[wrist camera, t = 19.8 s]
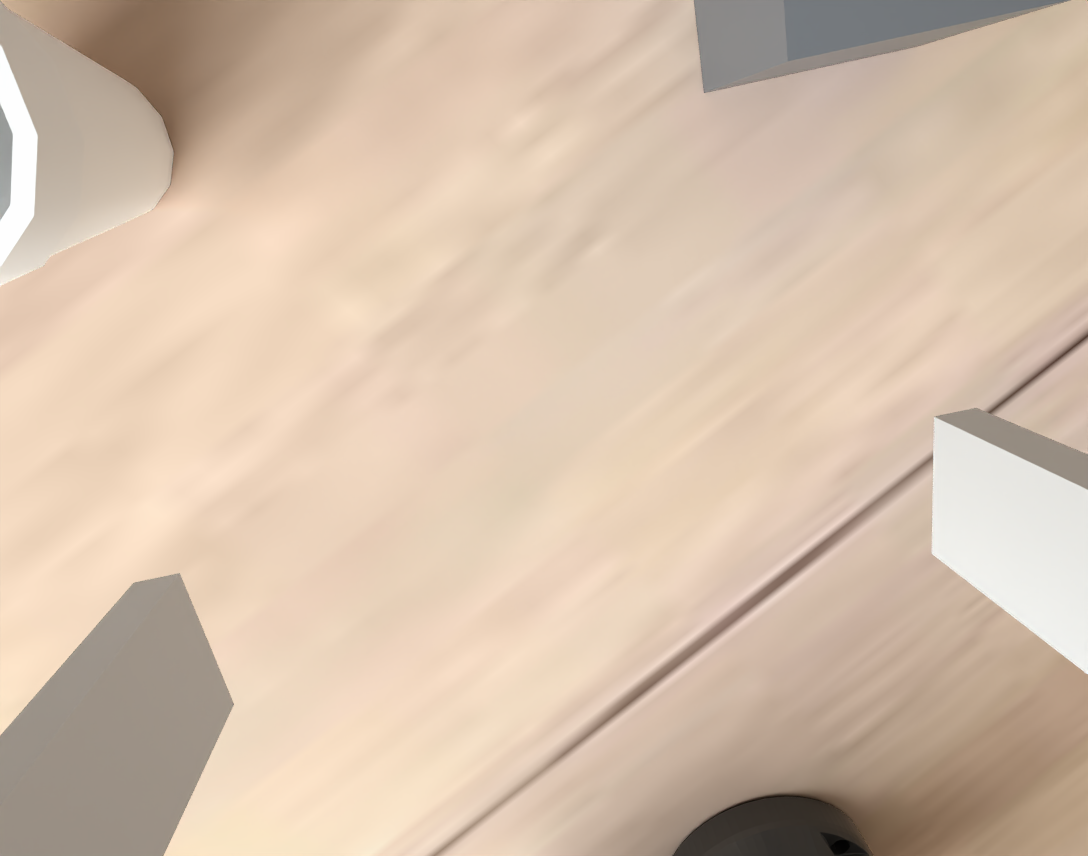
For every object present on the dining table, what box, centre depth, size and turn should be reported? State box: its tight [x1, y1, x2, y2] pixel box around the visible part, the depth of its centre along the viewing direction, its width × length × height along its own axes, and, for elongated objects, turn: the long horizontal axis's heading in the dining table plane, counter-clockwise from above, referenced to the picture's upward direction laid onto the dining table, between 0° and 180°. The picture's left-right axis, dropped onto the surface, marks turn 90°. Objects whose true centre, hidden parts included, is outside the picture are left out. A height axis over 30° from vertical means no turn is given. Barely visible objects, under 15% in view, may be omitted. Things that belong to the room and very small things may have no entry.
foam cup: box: [0, 1, 174, 286], centre depth 24 cm, size 10×9×13 cm
